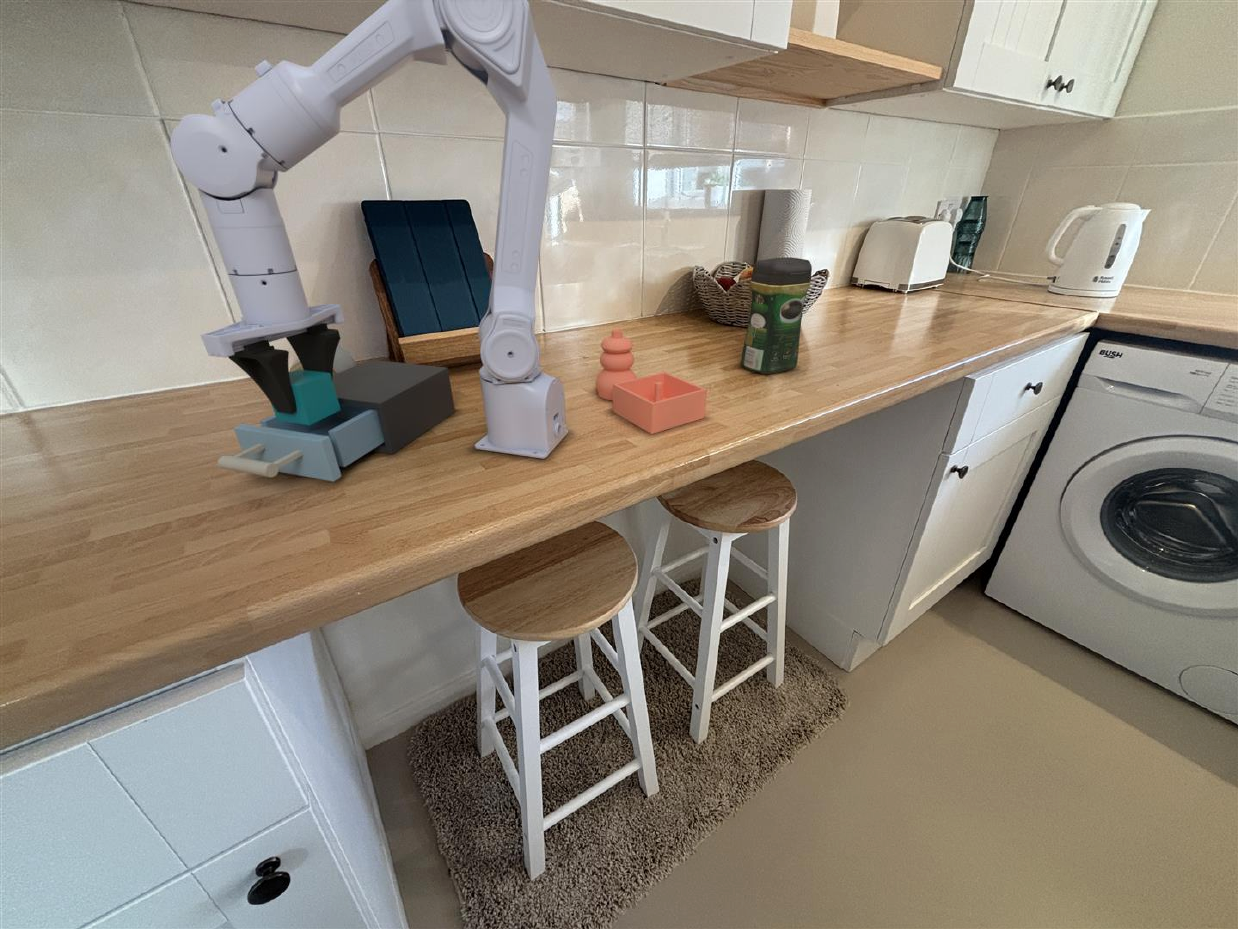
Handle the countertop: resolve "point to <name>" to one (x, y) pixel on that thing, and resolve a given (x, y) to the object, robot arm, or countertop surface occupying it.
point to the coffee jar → (776, 314)
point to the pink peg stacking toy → (646, 390)
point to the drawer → (306, 444)
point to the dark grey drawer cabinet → (398, 398)
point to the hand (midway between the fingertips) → (306, 403)
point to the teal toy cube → (311, 397)
